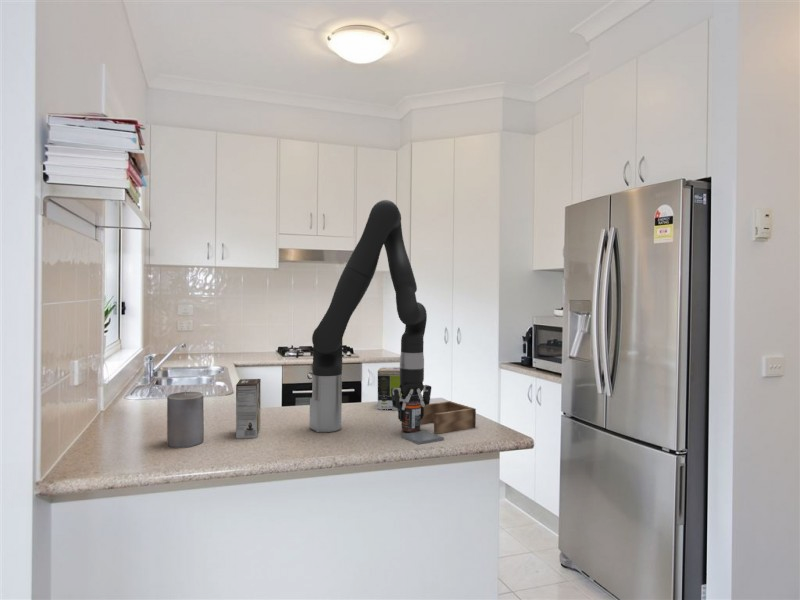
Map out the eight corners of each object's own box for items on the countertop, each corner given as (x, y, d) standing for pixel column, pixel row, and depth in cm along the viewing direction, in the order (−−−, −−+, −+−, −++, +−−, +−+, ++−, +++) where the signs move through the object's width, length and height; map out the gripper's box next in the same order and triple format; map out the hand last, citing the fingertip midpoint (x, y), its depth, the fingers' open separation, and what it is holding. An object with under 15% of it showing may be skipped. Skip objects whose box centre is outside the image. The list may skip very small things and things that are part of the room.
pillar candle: (174, 438, 159) (173, 387, 158) (208, 437, 160) (207, 386, 159) (161, 448, 149) (161, 394, 149) (198, 448, 150) (198, 393, 149)
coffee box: (239, 430, 168) (239, 378, 168) (260, 430, 169) (261, 378, 169) (235, 438, 159) (235, 384, 159) (258, 438, 160) (258, 383, 160)
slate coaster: (418, 444, 155) (418, 441, 155) (401, 436, 163) (401, 434, 163) (443, 439, 160) (443, 437, 160) (425, 432, 168) (425, 430, 168)
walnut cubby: (436, 434, 167) (436, 414, 167) (411, 424, 178) (411, 406, 178) (475, 427, 175) (475, 408, 175) (449, 418, 186) (449, 401, 186)
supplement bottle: (397, 429, 170) (397, 393, 170) (411, 426, 174) (412, 391, 174) (409, 433, 166) (410, 396, 165) (424, 430, 170) (425, 394, 169)
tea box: (419, 405, 207) (420, 366, 207) (418, 411, 197) (418, 370, 197) (380, 404, 209) (381, 365, 208) (376, 410, 199) (377, 369, 198)
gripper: (399, 369, 162) (398, 425, 163) (437, 366, 170) (436, 419, 171) (385, 366, 169) (385, 420, 169) (423, 363, 177) (422, 415, 177)
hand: (411, 419), depth 170 cm, fingers closed on supplement bottle, 6 cm apart
